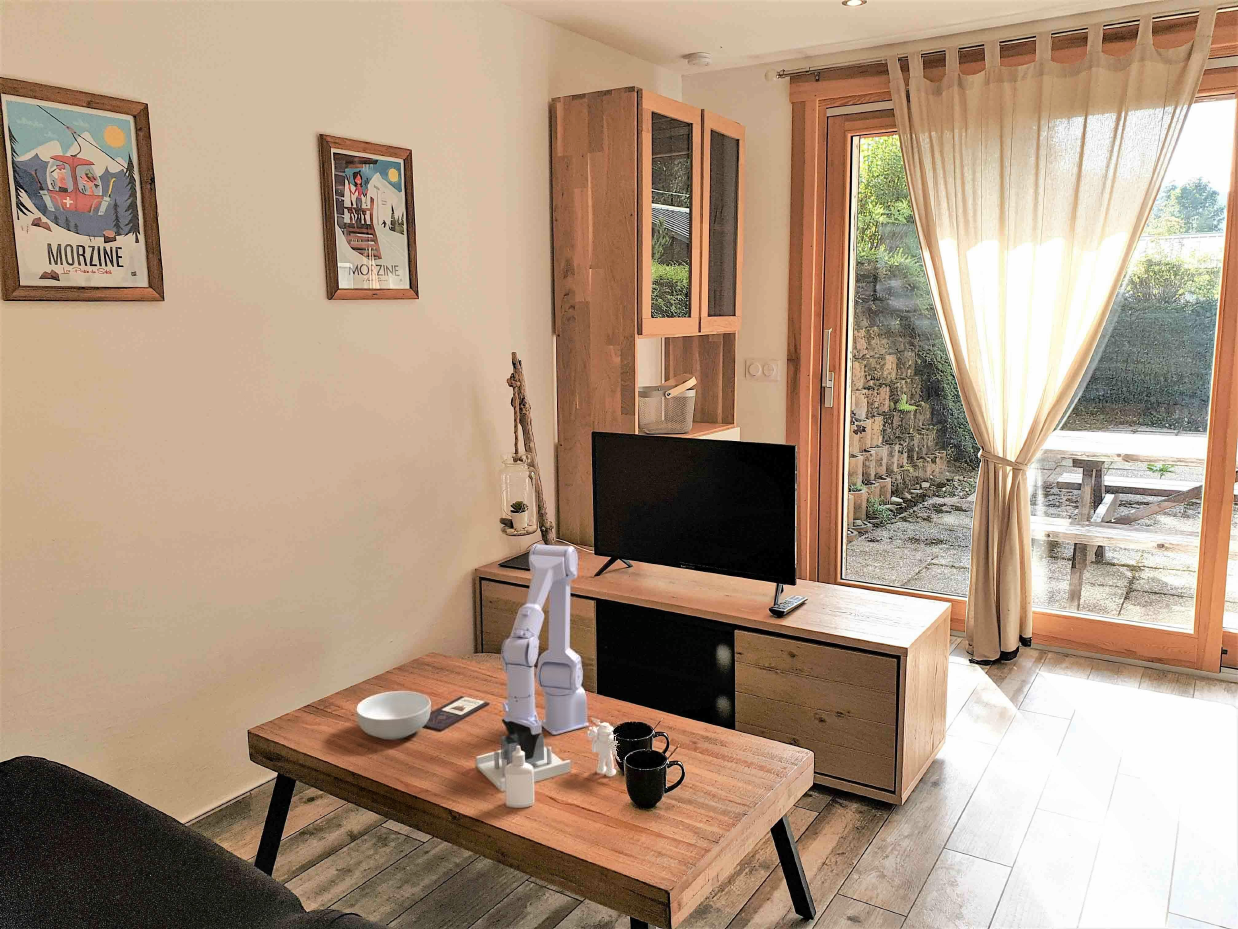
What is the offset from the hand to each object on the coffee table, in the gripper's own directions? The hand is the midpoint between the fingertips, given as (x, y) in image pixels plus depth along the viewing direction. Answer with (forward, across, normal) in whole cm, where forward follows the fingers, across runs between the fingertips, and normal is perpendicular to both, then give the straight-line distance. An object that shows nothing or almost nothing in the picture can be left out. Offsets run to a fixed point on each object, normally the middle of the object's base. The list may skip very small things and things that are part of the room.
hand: (522, 754), depth 202 cm
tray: (+3, 0, 0) cm, 3 cm away
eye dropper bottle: (+4, +13, -7) cm, 15 cm away
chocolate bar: (+4, -36, -2) cm, 36 cm away
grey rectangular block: (+1, 0, 0) cm, 1 cm away
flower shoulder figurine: (+4, +11, +14) cm, 18 cm away
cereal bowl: (+4, -33, -17) cm, 37 cm away
